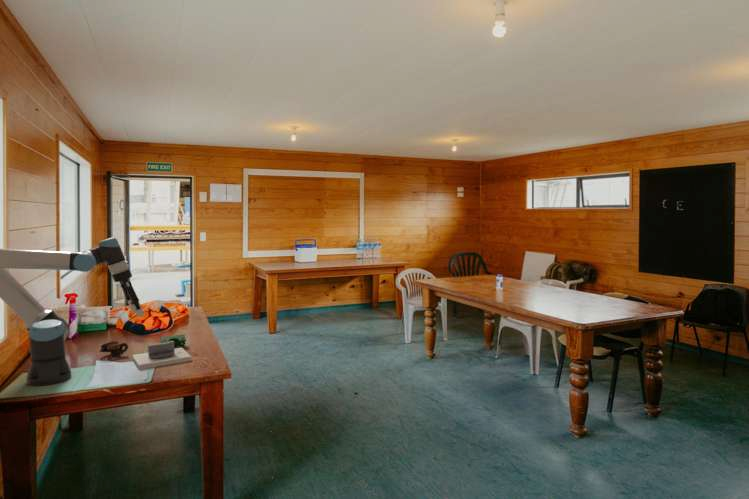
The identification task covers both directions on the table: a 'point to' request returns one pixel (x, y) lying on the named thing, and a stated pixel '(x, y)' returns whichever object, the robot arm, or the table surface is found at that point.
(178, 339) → the clamp
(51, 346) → the robot arm
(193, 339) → the table surface
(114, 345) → the pottery mug
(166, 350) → the dial
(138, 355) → the dial board
